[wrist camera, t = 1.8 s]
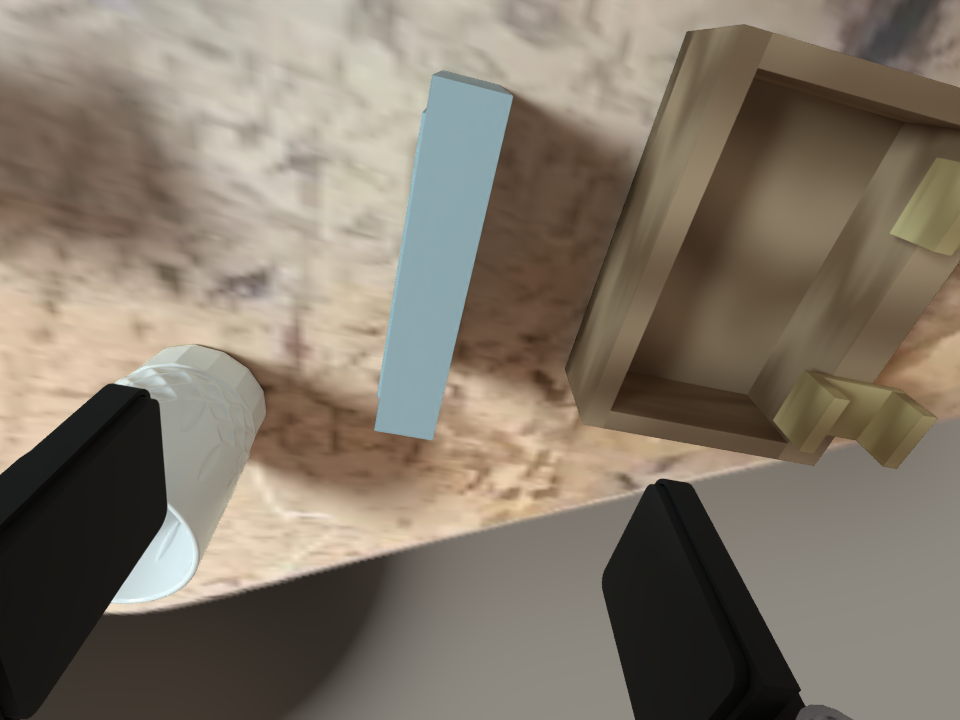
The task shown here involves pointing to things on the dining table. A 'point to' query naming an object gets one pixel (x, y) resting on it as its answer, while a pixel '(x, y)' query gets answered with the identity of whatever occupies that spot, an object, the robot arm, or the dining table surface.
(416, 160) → the door
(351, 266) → the dining table surface
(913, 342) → the dining table surface
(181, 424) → the white cup
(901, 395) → the carcass
